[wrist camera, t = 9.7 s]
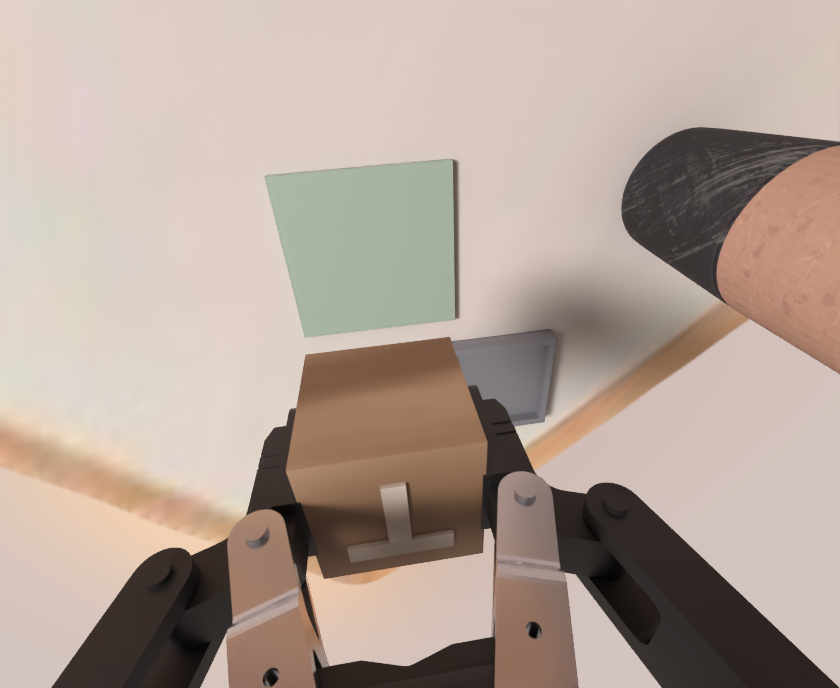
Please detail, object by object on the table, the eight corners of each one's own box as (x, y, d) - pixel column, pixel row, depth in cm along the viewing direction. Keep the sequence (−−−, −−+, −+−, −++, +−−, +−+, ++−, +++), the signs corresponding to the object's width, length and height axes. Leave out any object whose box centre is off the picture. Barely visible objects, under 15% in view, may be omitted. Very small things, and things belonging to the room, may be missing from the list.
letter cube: (305, 354, 13) (285, 474, 9) (449, 337, 13) (488, 445, 9) (331, 457, 15) (324, 584, 12) (452, 439, 16) (483, 557, 12)
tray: (440, 343, 29) (443, 352, 28) (549, 329, 30) (556, 338, 29) (443, 425, 34) (446, 435, 33) (538, 411, 34) (544, 421, 34)
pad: (265, 175, 22) (264, 176, 22) (451, 158, 23) (452, 160, 23) (305, 334, 28) (304, 337, 27) (453, 316, 28) (455, 319, 28)
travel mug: (615, 265, 28) (997, 551, 11) (616, 144, 24) (1231, 319, 7) (728, 231, 28) (1289, 474, 11) (749, 103, 23) (1716, 184, 7)
